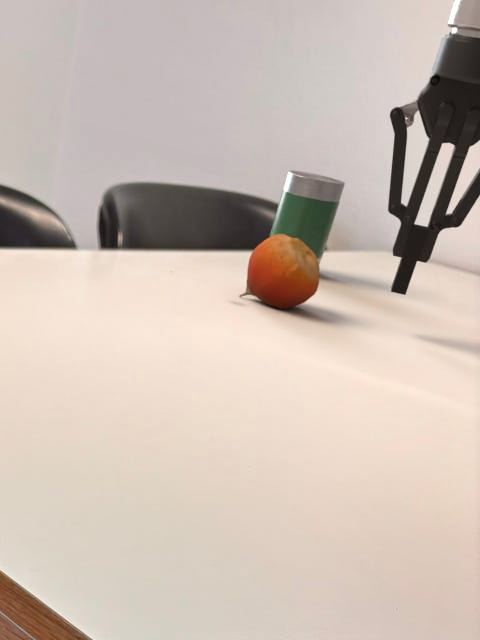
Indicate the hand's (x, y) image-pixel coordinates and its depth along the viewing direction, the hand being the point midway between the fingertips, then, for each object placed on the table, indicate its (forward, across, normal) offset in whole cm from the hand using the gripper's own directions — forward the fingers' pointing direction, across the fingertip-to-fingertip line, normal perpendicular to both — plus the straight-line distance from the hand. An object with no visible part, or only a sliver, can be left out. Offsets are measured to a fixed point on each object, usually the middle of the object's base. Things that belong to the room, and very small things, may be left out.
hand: (398, 290), depth 113 cm
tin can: (+4, -13, +24) cm, 27 cm away
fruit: (+4, -12, -1) cm, 13 cm away
